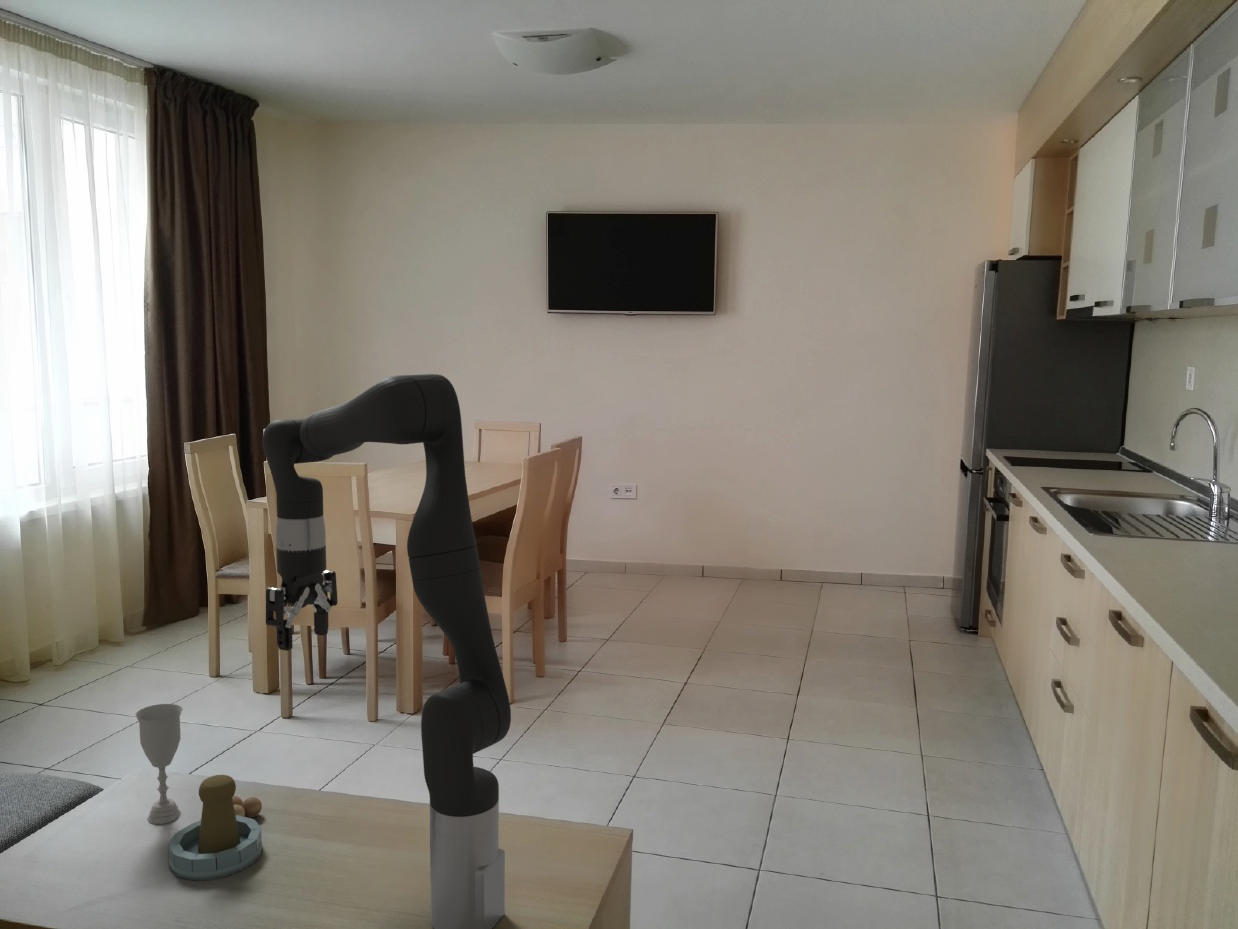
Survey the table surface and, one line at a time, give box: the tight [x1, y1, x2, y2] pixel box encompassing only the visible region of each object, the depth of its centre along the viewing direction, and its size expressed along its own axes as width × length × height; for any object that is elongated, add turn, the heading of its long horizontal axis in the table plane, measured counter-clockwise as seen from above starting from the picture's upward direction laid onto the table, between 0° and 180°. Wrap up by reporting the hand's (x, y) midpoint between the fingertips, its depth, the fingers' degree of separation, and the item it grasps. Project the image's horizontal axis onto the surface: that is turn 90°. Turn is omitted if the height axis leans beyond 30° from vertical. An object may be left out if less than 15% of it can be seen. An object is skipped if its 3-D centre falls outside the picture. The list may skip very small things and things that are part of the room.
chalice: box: [135, 703, 184, 825], centre depth 153 cm, size 7×7×18 cm
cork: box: [198, 774, 241, 854], centre depth 142 cm, size 6×6×11 cm
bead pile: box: [232, 795, 263, 819], centre depth 153 cm, size 6×6×3 cm
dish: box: [167, 815, 263, 881], centre depth 143 cm, size 13×13×3 cm
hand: (303, 641), depth 151 cm, fingers open, 8 cm apart
